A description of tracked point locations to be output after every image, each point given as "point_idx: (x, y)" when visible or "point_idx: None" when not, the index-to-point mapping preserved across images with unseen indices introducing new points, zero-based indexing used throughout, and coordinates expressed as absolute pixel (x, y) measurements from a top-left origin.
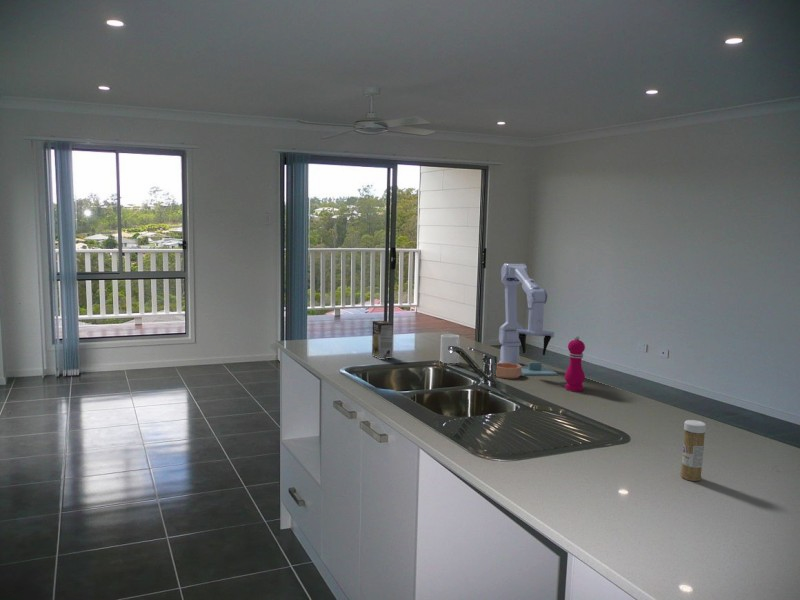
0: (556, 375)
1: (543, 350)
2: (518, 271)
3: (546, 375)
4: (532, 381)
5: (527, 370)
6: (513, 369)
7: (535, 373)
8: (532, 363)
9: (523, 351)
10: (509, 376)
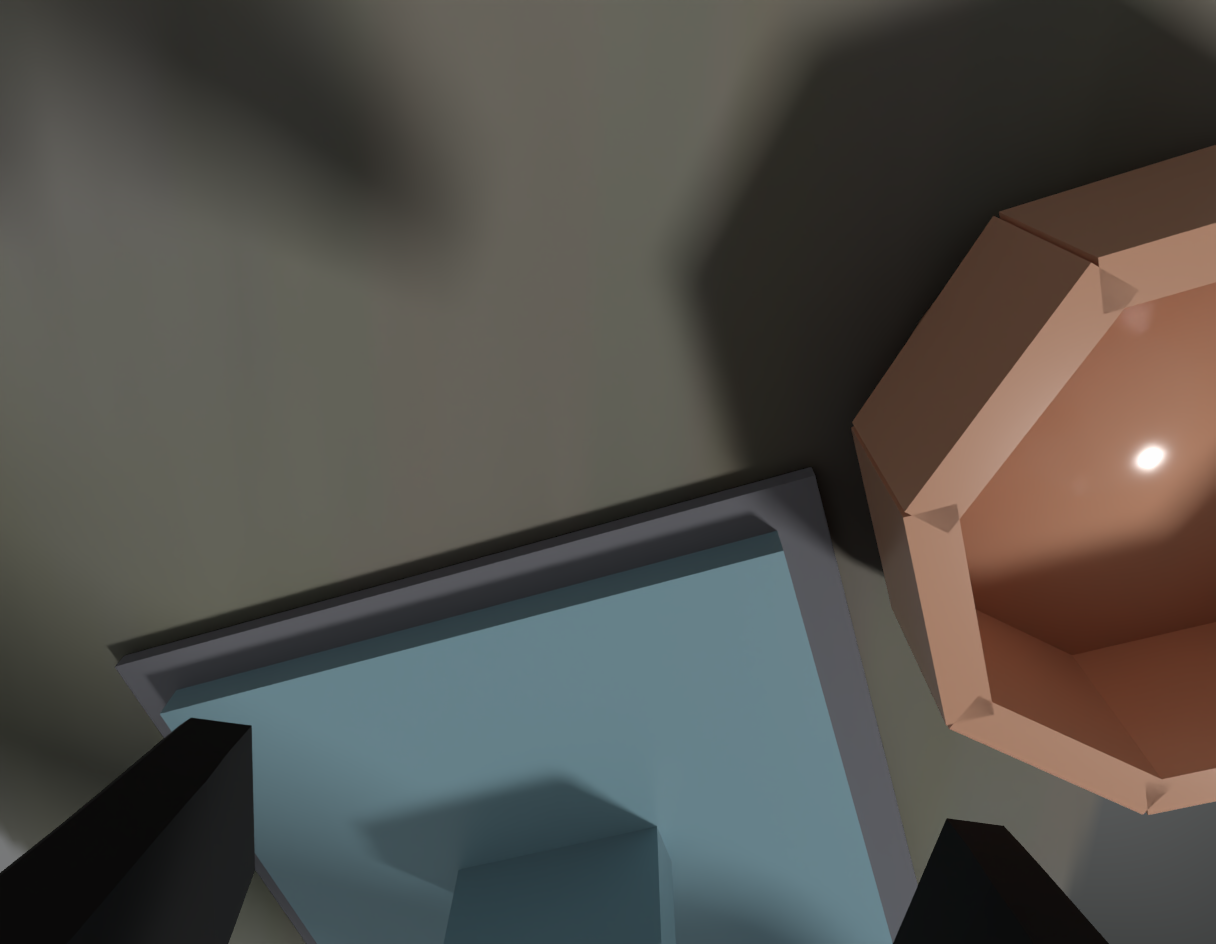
0: (190, 674)
1: (127, 847)
2: None
3: (359, 632)
4: (627, 130)
5: (694, 788)
6: (1182, 217)
7: (555, 609)
8: (607, 941)
9: (1032, 872)
10: (1183, 158)
